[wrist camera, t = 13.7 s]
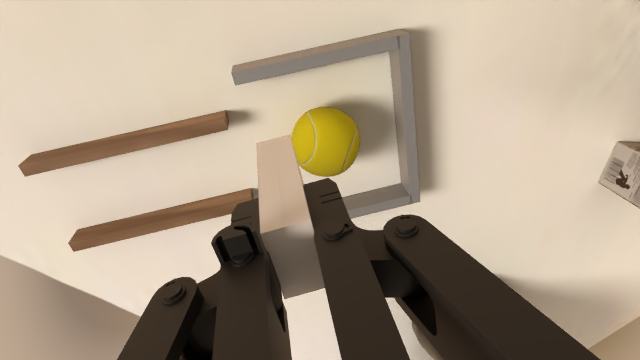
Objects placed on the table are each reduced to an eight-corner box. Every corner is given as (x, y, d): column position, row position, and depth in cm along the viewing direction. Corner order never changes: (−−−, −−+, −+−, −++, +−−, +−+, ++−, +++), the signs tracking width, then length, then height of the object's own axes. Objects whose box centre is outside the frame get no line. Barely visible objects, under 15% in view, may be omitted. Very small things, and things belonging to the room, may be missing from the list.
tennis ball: (359, 107, 42) (377, 130, 36) (340, 163, 45) (354, 193, 39) (297, 91, 41) (305, 113, 34) (281, 152, 43) (286, 181, 37)
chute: (253, 197, 46) (253, 208, 43) (82, 237, 45) (73, 251, 42) (225, 110, 40) (224, 118, 38) (30, 154, 39) (18, 165, 37)
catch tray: (411, 189, 49) (420, 201, 46) (278, 221, 48) (279, 236, 45) (398, 28, 39) (409, 32, 36) (232, 65, 38) (231, 72, 36)
